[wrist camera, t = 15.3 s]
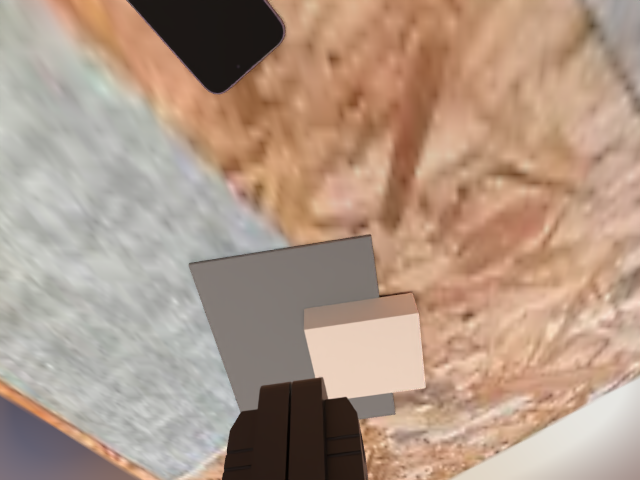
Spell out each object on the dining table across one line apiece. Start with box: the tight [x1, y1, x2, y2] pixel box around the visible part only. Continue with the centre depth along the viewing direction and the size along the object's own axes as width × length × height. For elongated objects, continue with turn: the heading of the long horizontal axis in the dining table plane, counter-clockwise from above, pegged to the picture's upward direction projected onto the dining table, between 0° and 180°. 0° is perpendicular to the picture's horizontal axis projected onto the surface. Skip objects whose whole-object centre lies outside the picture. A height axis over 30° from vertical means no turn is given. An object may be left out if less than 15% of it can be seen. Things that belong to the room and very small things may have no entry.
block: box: [304, 293, 426, 399], centre depth 47 cm, size 3×9×10 cm
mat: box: [189, 235, 395, 419], centre depth 49 cm, size 16×22×1 cm
